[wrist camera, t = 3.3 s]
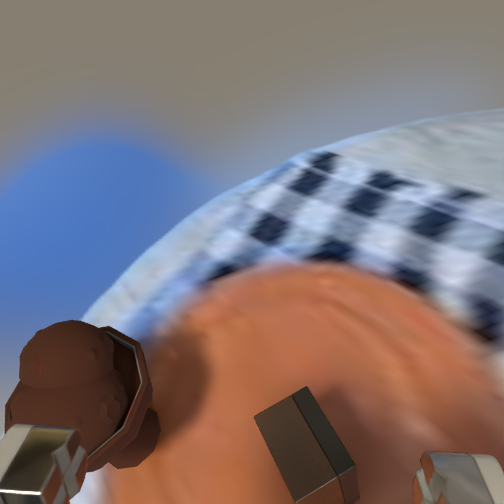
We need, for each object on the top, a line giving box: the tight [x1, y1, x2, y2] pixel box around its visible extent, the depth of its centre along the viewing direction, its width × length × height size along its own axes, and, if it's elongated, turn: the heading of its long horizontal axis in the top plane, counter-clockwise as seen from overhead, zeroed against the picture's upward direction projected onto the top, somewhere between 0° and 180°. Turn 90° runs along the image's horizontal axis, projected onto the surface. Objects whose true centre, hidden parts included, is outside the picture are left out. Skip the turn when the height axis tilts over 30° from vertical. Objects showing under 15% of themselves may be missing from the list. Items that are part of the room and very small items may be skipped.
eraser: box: [254, 386, 360, 504], centre depth 29 cm, size 4×6×9 cm
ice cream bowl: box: [5, 320, 161, 472], centre depth 32 cm, size 11×11×15 cm
